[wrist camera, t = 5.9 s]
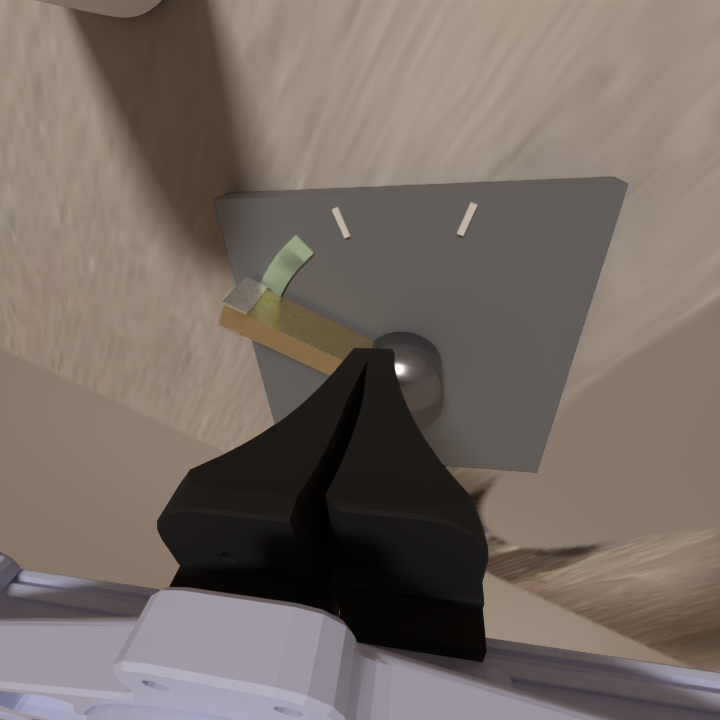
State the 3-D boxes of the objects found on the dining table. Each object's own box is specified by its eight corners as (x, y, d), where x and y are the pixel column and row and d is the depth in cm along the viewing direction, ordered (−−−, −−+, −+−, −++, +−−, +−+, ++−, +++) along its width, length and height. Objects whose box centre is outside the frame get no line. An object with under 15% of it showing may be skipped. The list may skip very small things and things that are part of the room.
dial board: (613, 176, 16) (630, 184, 15) (532, 455, 27) (537, 474, 25) (226, 192, 19) (211, 200, 18) (288, 438, 30) (282, 454, 28)
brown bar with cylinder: (253, 252, 19) (227, 276, 16) (457, 354, 20) (461, 389, 18) (233, 319, 21) (208, 349, 19) (416, 405, 23) (414, 442, 20)
